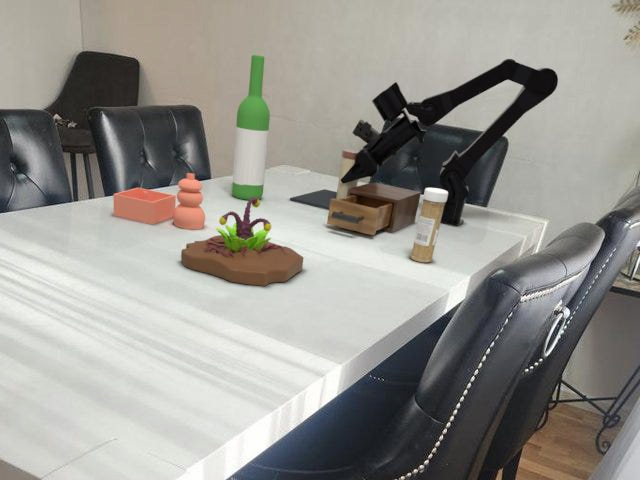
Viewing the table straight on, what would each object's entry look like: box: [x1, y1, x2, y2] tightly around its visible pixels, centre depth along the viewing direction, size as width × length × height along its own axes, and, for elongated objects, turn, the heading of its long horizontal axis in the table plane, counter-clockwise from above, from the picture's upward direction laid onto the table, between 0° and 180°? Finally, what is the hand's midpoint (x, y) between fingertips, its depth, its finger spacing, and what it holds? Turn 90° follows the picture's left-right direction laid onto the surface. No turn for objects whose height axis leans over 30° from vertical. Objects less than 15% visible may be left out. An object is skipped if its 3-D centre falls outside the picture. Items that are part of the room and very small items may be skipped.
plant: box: [180, 197, 304, 287], centre depth 112 cm, size 20×20×11 cm
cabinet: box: [347, 181, 422, 234], centre depth 155 cm, size 16×13×7 cm
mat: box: [289, 188, 337, 211], centre depth 169 cm, size 20×20×1 cm
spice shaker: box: [336, 148, 360, 199], centre depth 166 cm, size 5×5×12 cm
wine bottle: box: [231, 54, 271, 201], centre depth 154 cm, size 8×8×30 cm
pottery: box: [112, 172, 206, 230], centre depth 132 cm, size 18×10×10 cm, turn 69°
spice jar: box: [410, 187, 448, 264], centre depth 128 cm, size 5×5×14 cm
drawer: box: [326, 194, 394, 236], centre depth 145 cm, size 19×11×5 cm, turn 150°
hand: (343, 180), depth 166 cm, fingers closed on spice shaker, 5 cm apart
